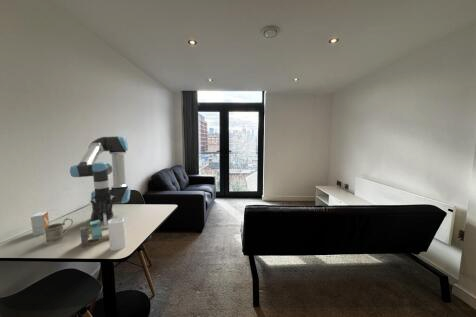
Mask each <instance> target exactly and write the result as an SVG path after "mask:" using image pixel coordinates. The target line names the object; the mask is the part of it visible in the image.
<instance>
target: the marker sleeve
mask: <svg viewBox="0 0 476 317" xmlns="http://www.w3.org/2000/svg"><path fill="white" fill-rule="evenodd" d="M89 225H90V226H89V229H90V231H91V234H90V238H91V239H92V240H94V239H98V238H101V237H102V236H103V231H102V229H101V228H102V221H100V220H96V221H91V220H90V221H89Z"/></svg>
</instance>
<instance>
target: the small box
mask: <svg viewBox="0 0 476 317" xmlns="http://www.w3.org/2000/svg"><path fill="white" fill-rule="evenodd" d="M30 221H31V228H32V236H33V237H35V236H40V235H46V232H45V227H47V226H49V225H50V220H49V212H48V211H42V212H36V213H35V214H33V215H31V216H30Z"/></svg>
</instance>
